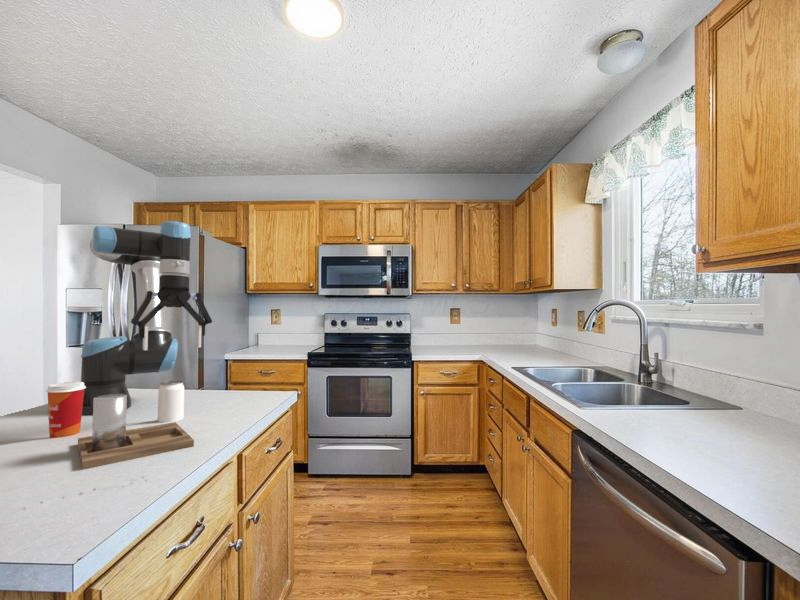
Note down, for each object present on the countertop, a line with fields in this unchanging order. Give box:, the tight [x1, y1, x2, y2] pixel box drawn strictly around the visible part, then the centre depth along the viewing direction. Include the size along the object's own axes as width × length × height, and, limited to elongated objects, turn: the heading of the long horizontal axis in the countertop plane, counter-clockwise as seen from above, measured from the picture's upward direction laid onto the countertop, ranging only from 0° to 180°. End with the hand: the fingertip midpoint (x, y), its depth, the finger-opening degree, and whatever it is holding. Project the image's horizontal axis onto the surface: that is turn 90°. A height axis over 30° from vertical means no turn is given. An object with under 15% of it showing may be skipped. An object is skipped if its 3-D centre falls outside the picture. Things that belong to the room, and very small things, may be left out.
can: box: [157, 380, 185, 423], centre depth 111 cm, size 6×6×12 cm
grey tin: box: [91, 394, 128, 452], centre depth 86 cm, size 6×6×12 cm
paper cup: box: [45, 381, 86, 439], centre depth 97 cm, size 8×8×14 cm
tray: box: [77, 421, 195, 470], centre depth 89 cm, size 18×20×3 cm
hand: (172, 348), depth 111 cm, fingers open, 13 cm apart
